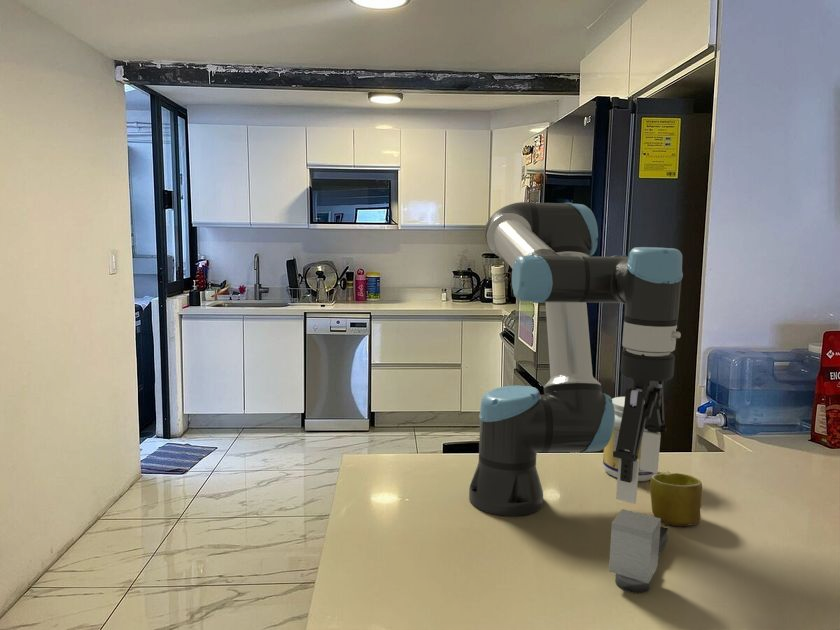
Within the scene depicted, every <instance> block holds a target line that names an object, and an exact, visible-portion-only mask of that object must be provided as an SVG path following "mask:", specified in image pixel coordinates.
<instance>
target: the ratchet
mask: <svg viewBox="0 0 840 630" xmlns="http://www.w3.org/2000/svg"><path fill="white" fill-rule="evenodd" d="M668 534H669V528H668V527H666V526H661V525H660V539H659V553H658V558H659V557H660V556H661V553H662V552H663V550H664V548H665V546H666V544H667V543H668ZM614 579H615V581H614V582H615V585H616V586H617V587H619V588H620V589H621V590H622V591H625V592H628V593H632V594H644V593H647V592H649V591H650V589H651V581H650V582H649V584H648V583H645V582H642V581H639V580H635V579H632V578H629V577H625V576H622V575H619V574H615V578H614Z"/></svg>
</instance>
